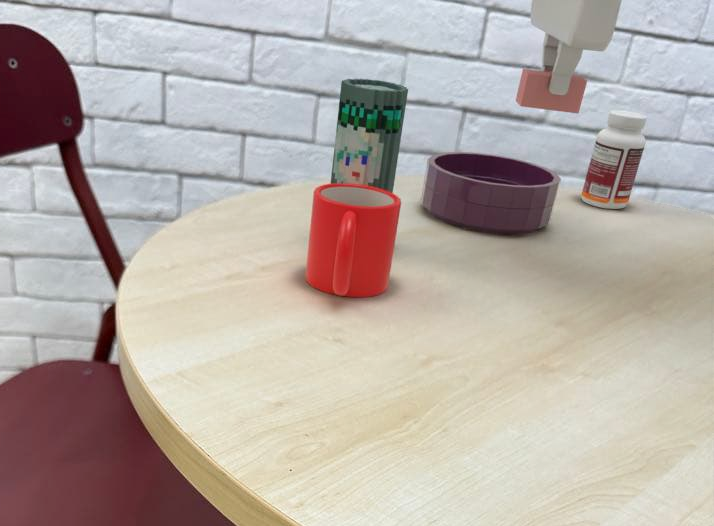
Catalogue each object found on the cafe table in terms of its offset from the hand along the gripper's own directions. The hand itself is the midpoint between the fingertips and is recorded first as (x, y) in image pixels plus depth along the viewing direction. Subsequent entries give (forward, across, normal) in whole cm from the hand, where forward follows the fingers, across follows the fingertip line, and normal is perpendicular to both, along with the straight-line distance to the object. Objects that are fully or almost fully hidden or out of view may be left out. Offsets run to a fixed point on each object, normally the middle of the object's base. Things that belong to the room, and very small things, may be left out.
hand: (551, 89), depth 86 cm
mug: (+16, -20, +19) cm, 32 cm away
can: (+16, -6, +18) cm, 25 cm away
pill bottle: (+16, +23, -16) cm, 32 cm away
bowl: (+16, +10, +2) cm, 19 cm away
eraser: (+2, 0, 0) cm, 2 cm away
